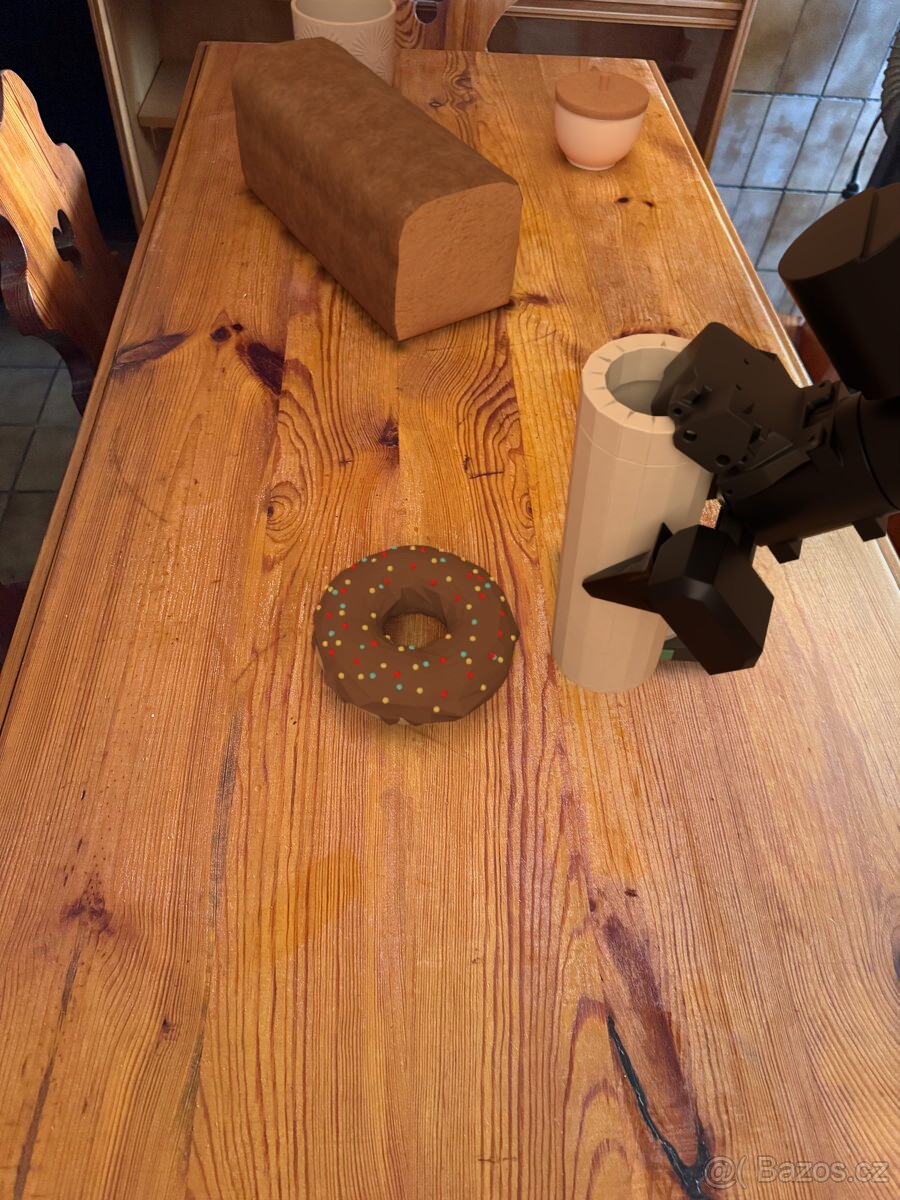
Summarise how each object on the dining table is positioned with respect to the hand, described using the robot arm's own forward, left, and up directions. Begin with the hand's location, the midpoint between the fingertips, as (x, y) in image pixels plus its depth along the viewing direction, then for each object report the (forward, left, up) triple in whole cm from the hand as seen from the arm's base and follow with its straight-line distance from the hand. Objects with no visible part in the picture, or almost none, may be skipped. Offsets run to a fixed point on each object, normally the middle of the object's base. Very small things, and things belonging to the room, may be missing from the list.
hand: (604, 542), depth 50 cm
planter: (+87, -18, -13) cm, 90 cm away
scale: (+3, -7, -13) cm, 15 cm away
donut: (+5, +9, -13) cm, 17 cm away
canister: (-1, -2, -10) cm, 10 cm away
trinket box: (+63, -40, -13) cm, 76 cm away
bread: (+55, -8, -13) cm, 57 cm away
